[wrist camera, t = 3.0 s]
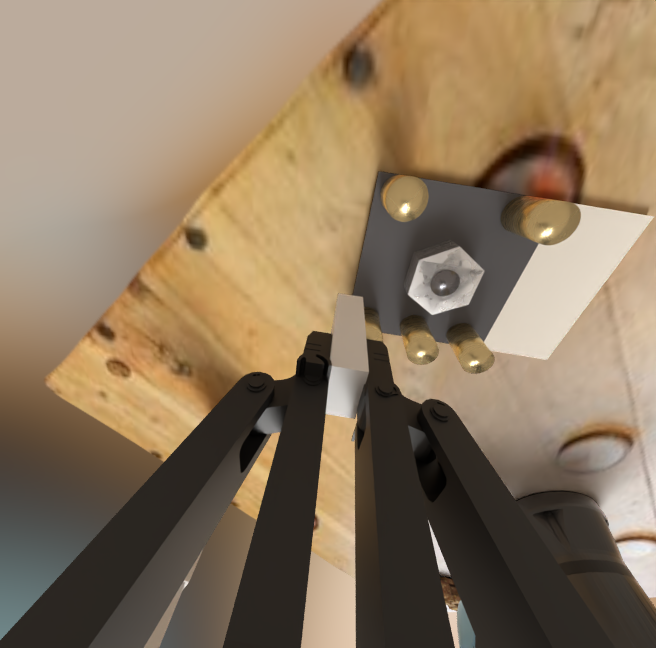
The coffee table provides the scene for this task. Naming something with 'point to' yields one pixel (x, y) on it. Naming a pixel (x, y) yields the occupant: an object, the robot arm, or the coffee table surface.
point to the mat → (493, 267)
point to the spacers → (517, 217)
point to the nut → (442, 277)
